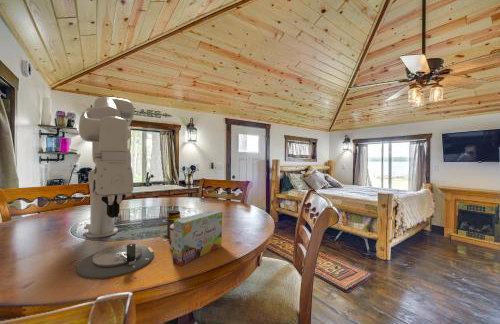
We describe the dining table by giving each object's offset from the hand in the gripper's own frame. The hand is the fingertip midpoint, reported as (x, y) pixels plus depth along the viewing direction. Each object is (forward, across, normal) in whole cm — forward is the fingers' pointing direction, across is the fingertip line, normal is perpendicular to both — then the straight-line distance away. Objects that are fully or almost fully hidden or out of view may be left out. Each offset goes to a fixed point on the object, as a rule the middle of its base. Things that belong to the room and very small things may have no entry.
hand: (113, 216), depth 67 cm
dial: (+17, +6, +8) cm, 20 cm away
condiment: (+18, +31, +15) cm, 39 cm away
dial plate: (+18, +6, +9) cm, 21 cm away
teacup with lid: (+19, +25, +1) cm, 32 cm away
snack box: (+19, +27, -9) cm, 34 cm away
